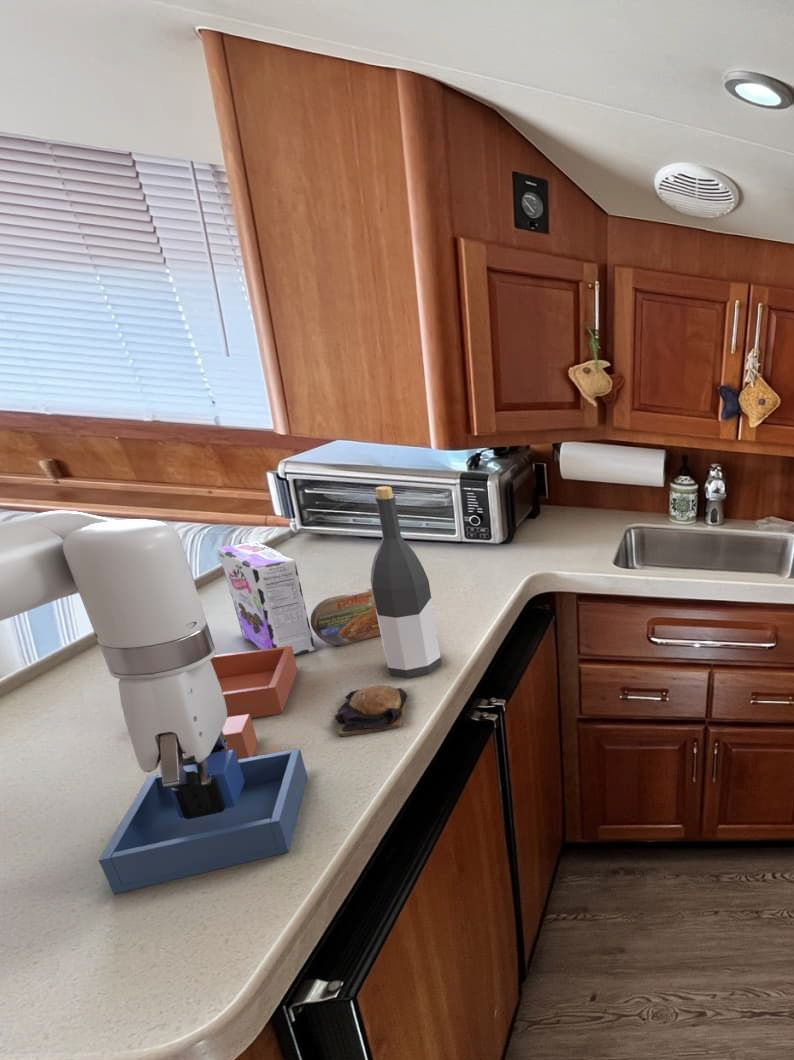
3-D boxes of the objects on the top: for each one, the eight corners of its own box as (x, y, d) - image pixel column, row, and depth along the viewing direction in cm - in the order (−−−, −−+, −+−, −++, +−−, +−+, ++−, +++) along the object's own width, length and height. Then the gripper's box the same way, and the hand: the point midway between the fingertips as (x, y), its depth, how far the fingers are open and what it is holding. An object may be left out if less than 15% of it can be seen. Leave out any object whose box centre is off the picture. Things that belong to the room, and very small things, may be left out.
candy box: (241, 637, 109) (215, 546, 103) (281, 626, 114) (259, 539, 107) (276, 662, 103) (250, 567, 96) (317, 649, 107) (296, 558, 101)
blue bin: (113, 894, 61) (98, 860, 60) (160, 806, 72) (148, 775, 71) (288, 852, 68) (279, 820, 66) (307, 776, 79) (300, 748, 77)
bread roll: (345, 700, 95) (340, 678, 93) (410, 690, 98) (406, 669, 97) (332, 739, 86) (326, 715, 84) (404, 727, 89) (400, 704, 88)
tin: (320, 651, 107) (309, 605, 104) (313, 645, 108) (302, 600, 105) (415, 626, 118) (408, 584, 115) (408, 621, 120) (401, 579, 116)
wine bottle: (395, 656, 107) (362, 481, 96) (447, 654, 109) (421, 482, 98) (378, 679, 100) (341, 493, 89) (435, 677, 102) (405, 494, 91)
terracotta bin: (153, 733, 84) (143, 706, 82) (184, 685, 95) (176, 659, 93) (282, 713, 90) (275, 687, 88) (297, 669, 101) (291, 645, 99)
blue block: (179, 818, 66) (166, 783, 64) (192, 792, 69) (180, 758, 68) (235, 806, 68) (224, 772, 66) (245, 781, 71) (234, 748, 70)
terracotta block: (204, 770, 78) (193, 740, 76) (213, 750, 82) (204, 720, 80) (250, 761, 80) (241, 732, 79) (258, 742, 84) (249, 713, 82)
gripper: (139, 619, 66) (190, 762, 73) (66, 698, 53) (136, 864, 60) (231, 610, 70) (271, 747, 77) (185, 682, 56) (239, 840, 63)
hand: (212, 797), depth 68 cm, fingers closed on blue block, 4 cm apart
